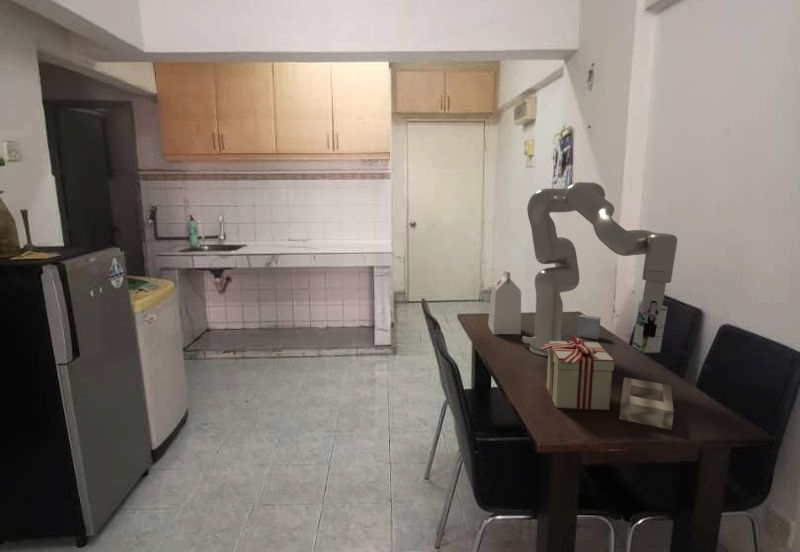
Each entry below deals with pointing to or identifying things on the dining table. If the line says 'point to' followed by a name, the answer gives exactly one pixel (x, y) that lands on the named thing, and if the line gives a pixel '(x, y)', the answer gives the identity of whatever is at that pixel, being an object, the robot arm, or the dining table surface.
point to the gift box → (579, 374)
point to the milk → (505, 306)
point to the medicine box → (588, 326)
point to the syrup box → (645, 342)
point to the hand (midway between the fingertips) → (648, 332)
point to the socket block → (647, 403)
